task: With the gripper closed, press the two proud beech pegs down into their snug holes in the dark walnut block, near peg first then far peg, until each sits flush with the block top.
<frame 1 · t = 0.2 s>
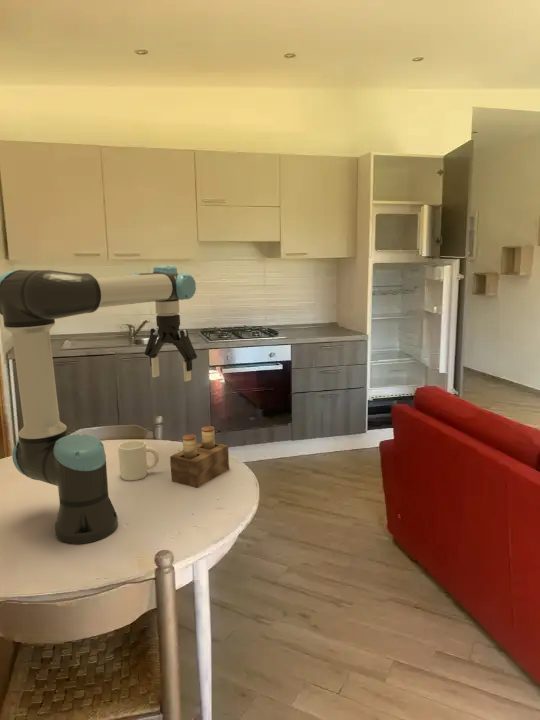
hand: (171, 378, 181), 28 cm above the table, fingers open, 13 cm apart
socket block: (201, 475, 172), on the table
peg far: (208, 439, 174), point 10 cm above the table, slide at 0.0 cm
peg near: (190, 448, 166), point 10 cm above the table, slide at 0.0 cm
mug: (140, 475, 173), on the table
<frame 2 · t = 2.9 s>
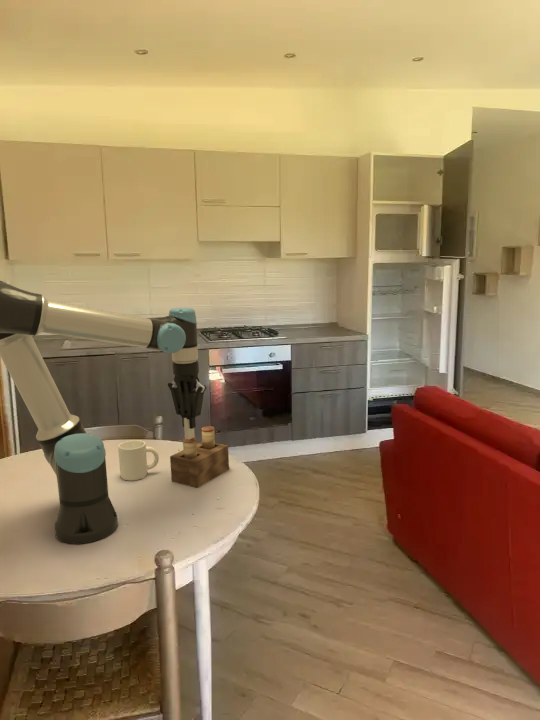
hand: (189, 438, 165), 14 cm above the table, fingers closed
peg near: (190, 450, 166), point 9 cm above the table, slide at 0.8 cm, touching gripper
everything else where it was.
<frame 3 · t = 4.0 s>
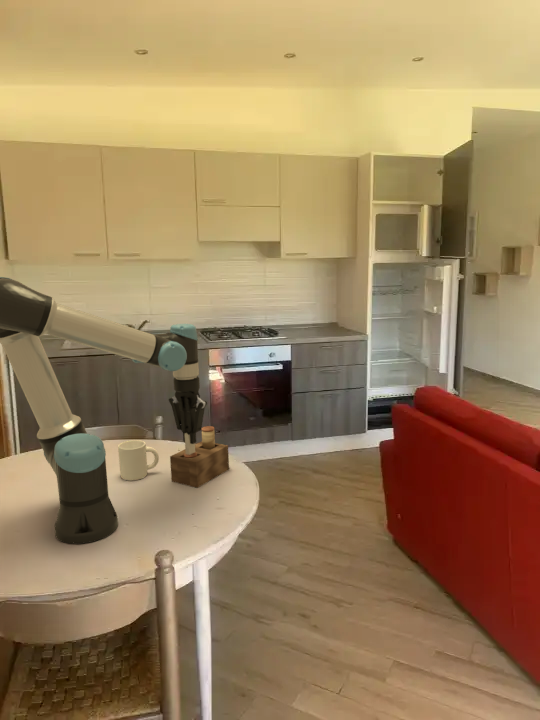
hand: (190, 453, 166), 9 cm above the table, fingers closed
peg near: (190, 465, 167), point 5 cm above the table, slide at 5.5 cm, touching gripper
everything else where it was.
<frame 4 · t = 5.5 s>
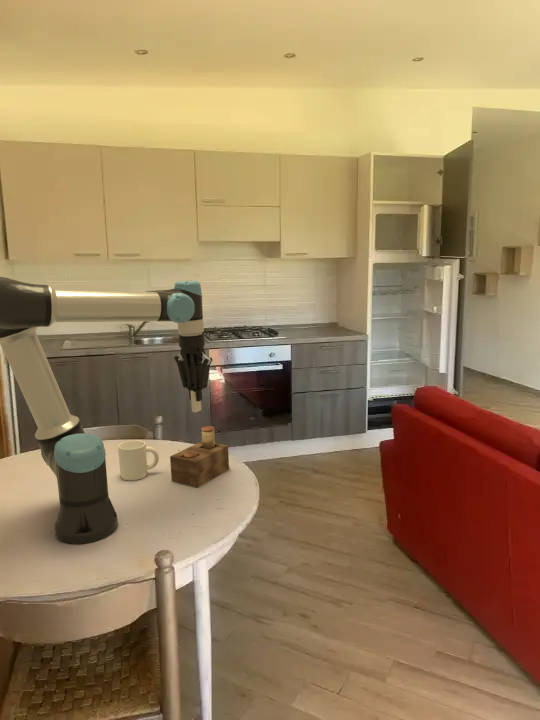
hand: (196, 410, 167), 21 cm above the table, fingers closed
peg near: (190, 465, 167), point 5 cm above the table, slide at 5.5 cm
everything else where it was.
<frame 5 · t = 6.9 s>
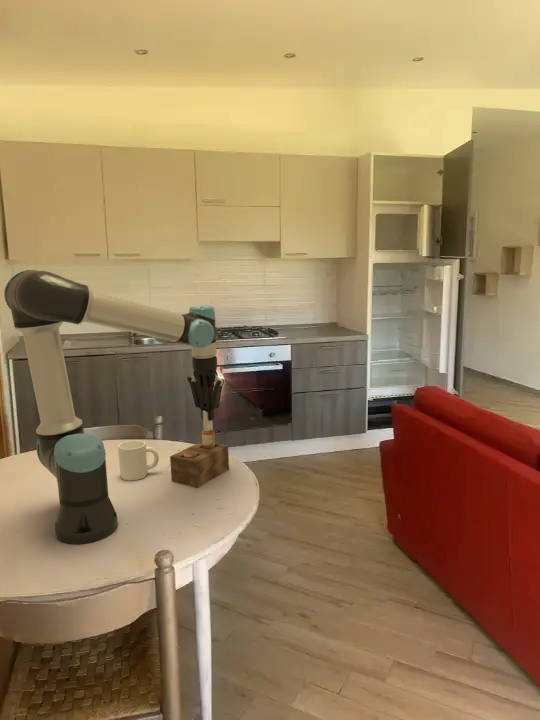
hand: (208, 429, 173), 13 cm above the table, fingers closed
peg far: (208, 442, 174), point 9 cm above the table, slide at 0.9 cm, touching gripper
everything else where it was.
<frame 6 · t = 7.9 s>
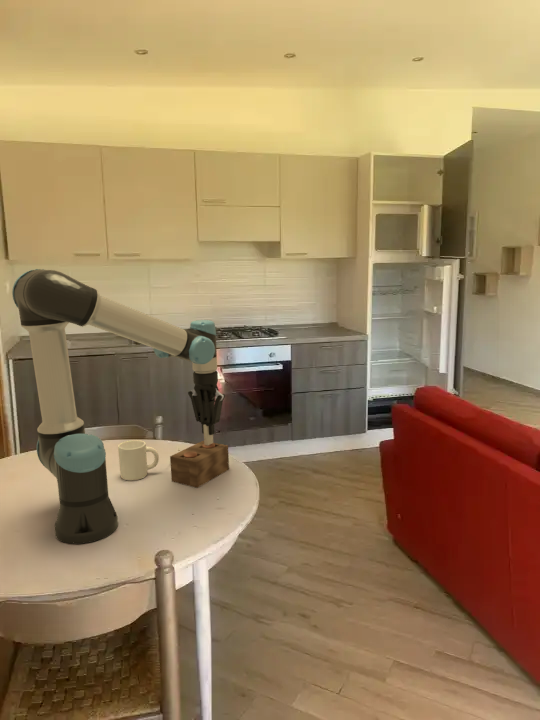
hand: (208, 443, 174), 9 cm above the table, fingers closed
peg far: (209, 455, 175), point 5 cm above the table, slide at 5.4 cm, touching gripper
everything else where it was.
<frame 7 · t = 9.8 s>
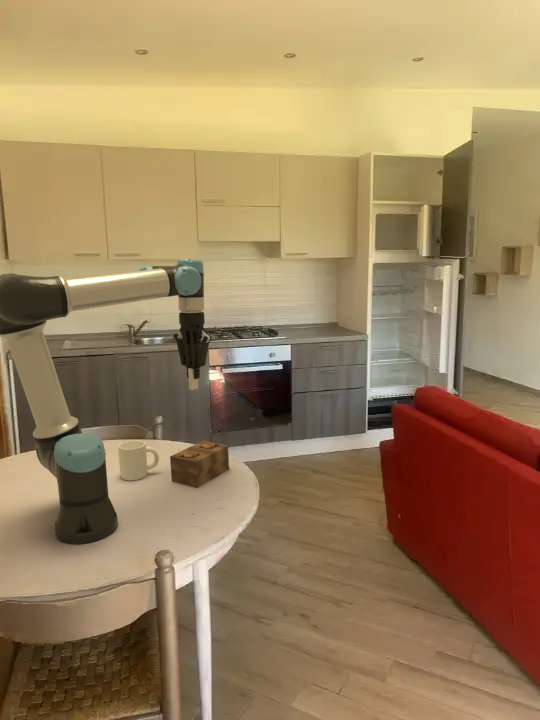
hand: (193, 388, 168), 27 cm above the table, fingers closed
peg far: (209, 456, 175), point 5 cm above the table, slide at 5.5 cm
everything else where it was.
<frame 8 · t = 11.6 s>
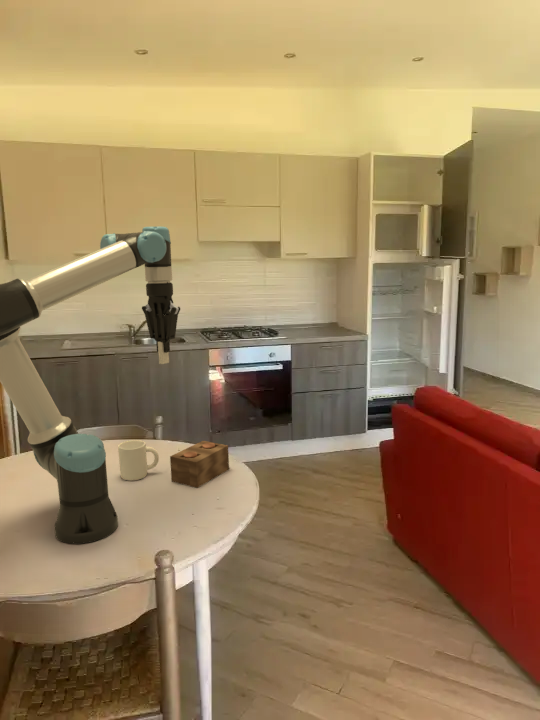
hand: (164, 363, 162), 36 cm above the table, fingers closed
nothing on the table moved.
at the end: peg near slide at 5.5 cm; peg far slide at 5.5 cm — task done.
